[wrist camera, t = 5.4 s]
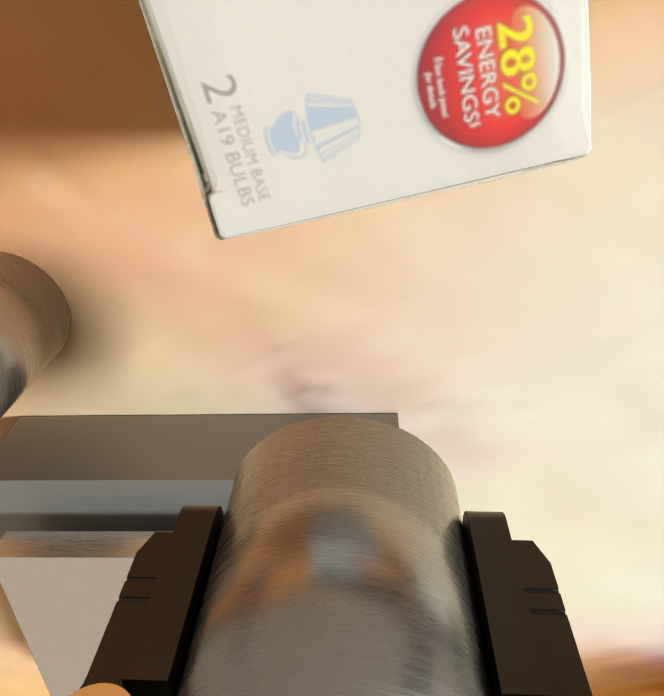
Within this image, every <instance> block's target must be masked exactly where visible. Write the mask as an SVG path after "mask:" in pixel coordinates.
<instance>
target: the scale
mask: <svg viewBox="0 0 664 696" xmlns="http://www.w3.org/2000/svg"><path fill="white" fill-rule="evenodd" d="M334 416H347V417H360V418H366V419H372V420H376V421H380V422H383V423H387V424H390V425H392V426H395V427H397V428H399V423H398V414H397V413H377V414H254V415H132V416H20V417H19V418H18V419H17V421H16V422H15V423H14V424H13V426H12V427H11V428H10V429H9V431H8V432H7V433H6V434H5V436H4V437H3V438H2V439H1V441H0V540H1V539H2V537H3V535H4V534H5V532H6V531H173V530H174V527H175V524H176V521H177V518H178V516H179V513H180V510H181V508H182V507H183V506H184V505H200V506H221V507H222V509H223V514H224V516H225V512H226V509H227V505H228V501H229V497H230V494H231V490H232V486H233V482H234V479H235V476H236V473H237V471H238V469H239V467H240V465H241V463H242V461H243V460H244V458H245V457H246V456H247V454H248V453H249V452H250V451H251V450H252V449H253V448H254V447H255V446H256V445H257V444H258V443H259V442H261V441H262V440H263V439H265V438H266V437H268V436H269V435H271V434H273V433H274V432H276V431H278V430H280V429H282V428H284V427H287V426H289V425H292V424H294V423H298V422H302V421H305V420H309V419H315V418H322V417H334Z"/></svg>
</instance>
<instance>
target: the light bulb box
mask: <svg viewBox="0 0 664 696" xmlns="http://www.w3.org/2000/svg"><path fill="white" fill-rule="evenodd" d="M138 1H139V4H140V7H141V10H142V13H143V16H144V19H145V22H146V25H147V28H148V31H149V34H150V37H151V40H152V43H153V46H154V49H155V52H156V55H157V58H158V61H159V64H160V67H161V70H162V73H163V75H164V78H165V81H166V84H167V88H168V91H169V94H170V97H171V100H172V103H173V106H174V110H175V113H176V116H177V119H178V122H179V125H180V128H181V131H182V134H183V137H184V140H185V142H186V145H187V148H188V151H189V154H190V157H191V160H192V163H193V166H194V170H195V173H196V176H197V180H198V183H199V187H200V190H201V194H202V197H203V200H204V203H205V206H206V209H207V212H208V215H209V218H210V222H211V225H212V228H213V231H214V234H215V236H216V237H217V238H218V239H220V240H223V239H228V238H233V237H238V236H244V235H249V234H254V233H260V232H264V231H268V230H273V229H277V228H282V227H286V226H291V225H295V224H300V223H304V222H308V221H313V220H317V219H322V218H326V217H331V216H335V215H340V214H345V213H350V212H354V211H358V210H363V209H367V208H371V207H376V206H380V205H385V204H389V203H394V202H398V201H403V200H407V199H411V198H416V197H420V196H425V195H429V194H434V193H439V192H444V191H448V190H453V189H458V188H462V187H466V186H471V185H475V184H480V183H484V182H488V181H493V180H497V179H501V178H505V177H509V176H514V175H518V174H522V173H526V172H530V171H534V170H538V169H542V168H546V167H550V166H554V165H558V164H562V163H567V162H571V161H575V160H578V159H580V158H582V157H584V156H586V155H587V154H588V153H589V152H590V151H591V83H590V46H589V11H588V0H138Z"/></svg>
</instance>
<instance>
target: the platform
mask: <svg viewBox="0 0 664 696" xmlns="http://www.w3.org/2000/svg"><path fill="white" fill-rule="evenodd" d="M155 532H173V531H6V532H5V534H4V535H3V537H2V539H1V540H0V583H1V585H2V588H3V590H4V592H5V594H6V597H7V599H8V601H9V603H10V606H11V608H12V610H13V612H14V615H15V617H16V619H17V621H18V624H19V626H20V628H21V630H22V633H23V635H24V637H25V639H26V642H27V644H28V646H29V648H30V651H31V653H32V655H33V657H34V660H35V662H36V664H37V666H38V669H39V671H40V673H41V675H42V678H43V680H44V682H45V684H46V687H47V689H48V691H49V693H50V696H70V695H71V694H73V693H74V692H75V691H77V690H79V689H80V687H81V686H82V684H83V683H84V680H85V678H86V676H87V674H88V672H89V669H90V667H91V664H92V662H93V659H94V657H95V654H96V652H97V649H98V647H99V644H100V642H101V639H102V637H103V634H104V632H105V629H106V627H107V625H108V622H109V620H110V617H111V615H112V612H113V610H114V607H115V605H116V602H117V601H119V595H120V592H121V590H122V587H123V585H124V582H125V581H127V575H128V572H129V570H130V567H131V565H132V562H133V560H134V558H135V555H136V553H137V551H138V550H139V549H140V548H141V547H142V546H143V545H144V544H145V543H146V541H147V540H148V539H149V538H150V537H151V536H152V535H153V534H154V533H155Z"/></svg>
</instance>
